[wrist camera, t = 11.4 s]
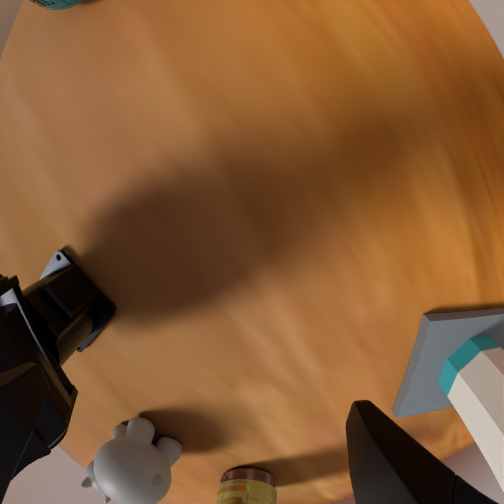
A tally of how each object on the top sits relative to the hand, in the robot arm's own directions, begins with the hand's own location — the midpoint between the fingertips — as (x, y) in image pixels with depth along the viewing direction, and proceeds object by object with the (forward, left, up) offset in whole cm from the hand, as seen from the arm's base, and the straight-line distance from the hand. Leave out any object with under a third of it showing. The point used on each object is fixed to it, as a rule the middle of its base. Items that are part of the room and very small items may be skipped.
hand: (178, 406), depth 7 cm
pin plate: (+9, -22, -13) cm, 27 cm away
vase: (+8, -21, -12) cm, 25 cm away
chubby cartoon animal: (-22, -7, -13) cm, 27 cm away
